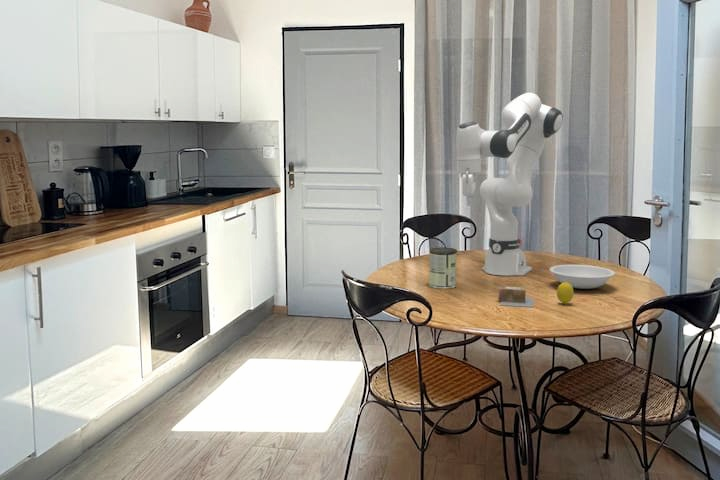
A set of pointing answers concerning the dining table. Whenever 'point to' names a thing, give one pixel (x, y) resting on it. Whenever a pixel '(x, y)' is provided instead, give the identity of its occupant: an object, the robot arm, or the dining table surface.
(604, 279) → the soup bowl
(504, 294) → the walnut block
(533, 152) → the robot arm
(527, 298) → the grey mat
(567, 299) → the lemon
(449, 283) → the coffee can
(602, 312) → the dining table surface
